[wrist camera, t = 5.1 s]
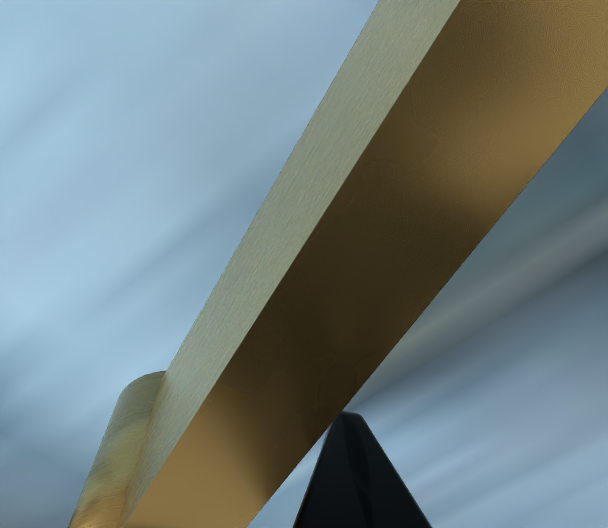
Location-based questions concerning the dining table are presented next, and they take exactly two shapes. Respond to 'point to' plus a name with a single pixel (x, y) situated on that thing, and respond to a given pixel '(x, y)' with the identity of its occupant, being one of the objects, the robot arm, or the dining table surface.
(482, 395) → the dining table surface
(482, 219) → the gold bone
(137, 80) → the dining table surface
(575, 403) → the dining table surface
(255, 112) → the dining table surface
